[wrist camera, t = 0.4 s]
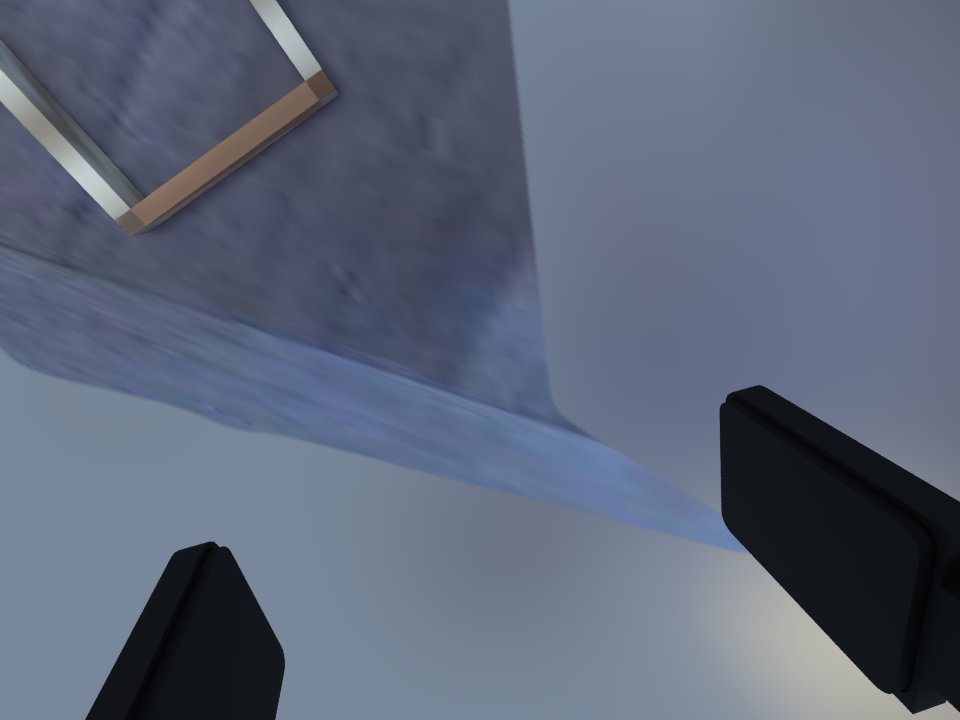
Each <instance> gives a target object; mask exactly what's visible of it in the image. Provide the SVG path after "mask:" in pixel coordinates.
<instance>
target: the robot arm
mask: <svg viewBox="0 0 960 720" xmlns="http://www.w3.org/2000/svg"><path fill="white" fill-rule="evenodd" d="M720 455H721V503H722V505H721V509H722V517H723V520H724V522H725V525H726V526H727V528H728V529H729V531H730V532H731V533H732V534H733V535H734V536H735V537H736V538H737V540H738V541H739V542H740V543H741V544H742V545H743V546H744V547H745V548H746V549H747V550H748V551H749V552H750V553H751V554H752V555H753V557H754V558H755V559H756V560H757V561H758V562H759V563H760V564H761V565H762V566H763V567H764V568H765V569H766V570H767V571H768V572H769V574H770V575H771V576H772V577H773V578H774V579H775V580H776V581H777V582H778V583H779V584H780V585H781V586H782V587H783V588H784V589H785V591H787V593H788V594H789V595H790V596H791V597H792V598H793V599H794V600H795V601H796V602H797V603H798V604H799V605H800V607H801V608H802V609H803V610H804V611H805V612H806V613H807V614H808V615H809V616H810V617H811V618H812V619H813V620H814V621H815V622H816V624H817V625H818V626H819V627H820V628H821V629H822V630H823V631H824V632H825V633H826V634H827V635H828V636H829V637H830V638H831V639H832V641H833V642H834V643H835V644H836V645H837V646H838V647H839V648H840V649H841V650H842V651H843V652H844V653H845V654H846V655H847V656H848V658H850V660H851V661H852V662H853V663H854V664H855V665H856V666H857V667H858V668H859V669H860V670H861V671H862V672H863V673H864V675H865V676H866V677H867V678H868V679H869V680H870V681H871V682H872V683H873V684H874V685H875V686H876V687H877V688H878V689H880V690H881V691H883V692H884V693H887V694H892V693H893V694H894V695H895V696H896V697H897V698H898V699H899V700H900V701H901V702H902V703H903V704H904V705H905V707H906V708H907V709H908V710H909V711H910V712H911V713H912V714H915V713H918V712H921V711H923V710H926V709H929V708H932V707H935V706H937V705H940V704H943V703H946V700H947V701H948V702H949V703H950V704H952V705H953V706H954V707H955V708H956V709H957V710H958V711H959V712H960V502H959V501H958V500H956V499H954V498H952V497H950V496H949V495H947V494H946V493H944V492H942V491H941V490H939V489H937V488H935V487H934V486H932V485H930V484H929V483H927V482H925V481H924V480H922V479H920V478H919V477H917V476H915V475H913V474H912V473H910V472H908V471H907V470H905V469H903V468H902V467H900V466H898V465H896V464H895V463H893V462H891V461H890V460H888V459H886V458H885V457H883V456H881V455H880V454H878V453H876V452H874V451H873V450H871V449H869V448H868V447H866V446H864V445H863V444H861V443H859V442H857V441H856V440H854V439H852V438H850V437H849V436H847V435H846V434H844V433H842V432H840V431H839V430H837V429H835V428H834V427H832V426H830V425H829V424H827V423H825V422H823V421H822V420H820V419H818V418H817V417H815V416H813V415H812V414H810V413H808V412H807V411H805V410H803V409H801V408H800V407H798V406H796V405H795V404H793V403H791V402H790V401H788V400H786V399H784V398H783V397H781V396H779V395H778V394H776V393H774V392H773V391H771V390H769V389H768V388H766V387H764V386H760V385H758V386H753V387H750V388H746V389H743V390H739V391H736V392H732V393H730V394H729V395H728V396H727V398H726V402H725V403H723V404H721V406H720ZM284 669H285V659H284V653H283V649H282V647H281V645H280V643H279V641H278V640H277V638H276V636H275V634H274V632H273V630H272V628H271V626H270V624H269V622H268V621H267V619H266V617H265V615H264V613H263V611H262V609H261V607H260V605H259V604H258V602H257V600H256V598H255V596H254V594H253V592H252V590H251V589H250V587H249V585H248V583H247V581H246V579H245V577H244V575H243V574H242V572H241V570H240V568H239V566H238V564H237V562H236V560H235V559H234V557H233V555H232V553H231V551H230V550H229V549H228V548H227V547H224V546H223V547H219V546H218V545H217V544H216V543H215V542H206V543H203V544H199V545H196V546H192V547H189V548H185V549H182V550H179V551H177V552H175V553H174V554H173V556H172V557H171V559H170V561H169V562H168V564H167V566H166V568H165V570H164V572H163V574H162V576H161V577H160V579H159V581H158V583H157V585H156V587H155V589H154V591H153V593H152V594H151V596H150V598H149V600H148V602H147V604H146V606H145V608H144V610H143V612H142V614H141V615H140V617H139V619H138V621H137V623H136V625H135V627H134V629H133V630H132V632H131V634H130V636H129V638H128V640H127V642H126V644H125V646H124V647H123V649H122V652H121V653H120V655H119V657H118V659H117V661H116V663H115V664H114V666H113V668H112V670H111V672H110V674H109V676H108V678H107V680H106V682H105V683H104V685H103V687H102V689H101V691H100V693H99V695H98V697H97V698H96V700H95V702H94V704H93V706H92V708H91V710H90V712H89V714H88V716H87V717H86V719H85V720H275V718H276V713H277V707H278V702H279V697H280V691H281V686H282V681H283V676H284Z"/></svg>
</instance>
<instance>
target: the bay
mask: <svg viewBox="0 0 960 720" xmlns="http://www.w3.org/2000/svg"><path fill="white" fill-rule="evenodd" d="M250 2H251V3H252V5H253V6H254V8H255V9H256V10H257V12H258V13H259V15H260V16H261V18H262V19H263V21H264V22H265V23H266V25H267V26H268V28H269V29H270V31H271V32H272V34H273V35H274V36H275V38H276V39H277V41H278V42H279V44H280V45H281V47H282V48H283V49H284V51H285V52H286V54H287V55H288V57H289V58H290V60H291V61H292V62H293V64H294V65H295V67H296V68H297V70H298V71H299V73H300V74H301V75H302V77H303V78H304V80H305V82H303V83H302V84H301V85H299V86H298V87H296V88H295V89H294V90H292V91H291V92H290V93H288V94H287V95H285V96H284V97H283V98H281V99H280V100H279V101H277V102H276V103H275V104H273V105H272V106H270V107H269V108H268V109H266V110H265V111H264V112H262V113H261V114H259V115H258V116H257V117H255V118H254V119H253V120H251V121H250V122H249V123H247V124H246V125H244V126H243V127H242V128H240V129H239V130H238V131H236V132H235V133H233V134H232V135H231V136H229V137H228V138H227V139H225V140H224V141H223V142H221V143H220V144H218V145H217V146H216V147H214V148H213V149H212V150H210V151H209V152H207V153H206V154H205V155H203V156H202V157H201V158H199V159H198V160H197V161H195V162H194V163H192V164H191V165H190V166H188V167H187V168H186V169H184V170H183V171H181V172H180V173H179V174H177V175H176V176H175V177H173V178H172V179H171V180H169V181H168V182H166V183H165V184H164V185H162V186H161V187H160V188H158V189H157V190H155V191H154V192H153V193H151V194H150V195H149V196H147V197H146V198H144V197H143V195H142V194H141V193H140V192H139V191H138V190H137V189H136V188H135V187H134V186H133V184H132V183H131V182H130V181H129V180H128V179H127V178H126V177H125V176H124V175H123V173H122V172H121V171H120V170H119V169H118V168H117V167H116V166H115V165H114V163H113V162H112V161H111V160H110V159H109V158H108V157H107V156H106V155H105V154H104V152H103V151H102V150H101V149H100V148H99V147H98V146H97V145H96V144H95V143H94V141H93V140H92V139H91V138H90V137H89V136H88V135H87V134H86V133H85V132H84V130H83V129H82V128H81V127H80V126H79V125H78V124H77V123H76V122H75V121H74V119H73V118H72V117H71V116H70V115H69V114H68V113H67V112H66V111H65V110H64V108H63V107H62V106H61V105H60V104H59V103H58V102H57V101H56V100H55V99H54V97H53V96H52V95H51V94H50V93H49V92H48V91H47V90H46V89H45V88H44V86H43V85H42V84H41V83H40V82H39V81H38V80H37V79H36V78H35V77H34V75H33V74H32V73H31V72H30V71H29V70H28V69H27V68H26V67H25V66H24V64H23V63H22V62H21V61H20V60H19V59H18V58H17V57H16V56H15V55H14V53H13V52H12V51H11V50H10V49H9V48H8V47H7V46H6V45H5V44H4V42H3V41H2V40H1V39H0V101H1V102H2V103H3V104H4V105H5V106H6V107H7V108H8V109H9V110H10V111H11V112H12V113H13V114H14V116H15V117H16V118H17V119H18V120H19V121H20V122H21V123H22V124H23V125H24V126H25V127H26V128H27V129H28V130H29V131H30V132H31V133H32V134H33V135H34V136H35V137H36V139H37V140H38V141H39V142H40V143H41V144H42V145H43V146H44V147H45V148H46V149H47V150H48V151H49V152H50V153H51V154H52V155H53V156H54V157H55V158H56V159H57V161H58V162H59V163H60V164H61V165H62V166H63V167H64V168H65V169H66V170H67V171H68V172H69V173H70V174H71V175H72V176H73V177H74V178H75V179H76V180H77V181H78V183H79V184H80V185H81V186H82V187H83V188H84V189H85V190H86V191H87V192H88V193H89V194H90V195H91V196H92V197H93V198H94V199H95V200H96V201H97V202H98V203H99V205H100V206H101V207H102V208H103V209H104V210H105V211H106V212H107V213H108V214H109V215H110V216H111V217H112V218H113V219H114V220H115V221H116V222H117V223H118V224H119V225H120V227H121V228H122V229H123V230H124V231H125V232H126V233H127V234H128V235H129V236H130V237H133V236H136V235H140V234H143V233H147V232H150V231H152V230H153V229H155V228H156V227H158V226H159V225H160V224H162V223H163V222H165V221H166V220H167V219H169V218H170V217H171V216H173V215H174V214H176V213H177V212H178V211H180V210H181V209H182V208H184V207H185V206H187V205H188V204H189V203H191V202H192V201H193V200H195V199H196V198H198V197H199V196H200V195H202V194H203V193H204V192H206V191H207V190H209V189H210V188H211V187H213V186H214V185H215V184H217V183H218V182H220V181H221V180H222V179H224V178H225V177H227V176H228V175H229V174H231V173H232V172H233V171H235V170H236V169H238V168H239V167H240V166H242V165H243V164H244V163H246V162H247V161H249V160H250V159H251V158H253V157H254V156H255V155H257V154H258V153H260V152H261V151H262V150H264V149H265V148H266V147H268V146H269V145H271V144H272V143H273V142H275V141H276V140H278V139H279V138H280V137H282V136H283V135H284V134H286V133H287V132H289V131H290V130H291V129H293V128H294V127H295V126H297V125H298V124H300V123H301V122H302V121H304V120H305V119H306V118H308V117H309V116H311V115H312V114H313V113H315V112H316V111H317V110H319V109H320V108H322V107H323V106H324V105H326V104H327V103H329V102H330V101H331V100H333V99H334V98H335V97H337V96H338V95H339V94H338V92H337V91H336V89H335V88H334V86H333V85H332V83H331V82H330V80H329V79H328V77H327V76H326V74H325V73H324V71H323V70H322V68H321V67H320V65H319V64H318V62H317V61H316V59H315V58H314V56H313V55H312V53H311V52H310V50H309V49H308V47H307V46H306V44H305V43H304V41H303V40H302V38H301V37H300V35H299V34H298V32H297V31H296V30H295V28H294V27H293V25H292V24H291V22H290V21H289V19H288V18H287V16H286V15H285V13H284V12H283V10H282V9H281V7H280V6H279V4H278V3H277V1H276V0H250Z"/></svg>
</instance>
